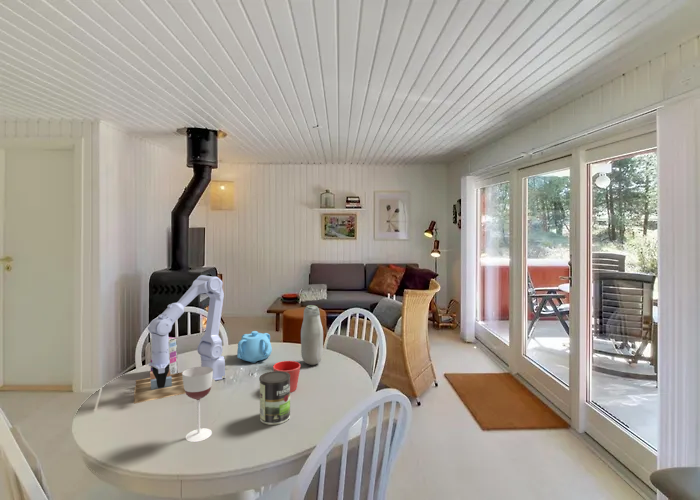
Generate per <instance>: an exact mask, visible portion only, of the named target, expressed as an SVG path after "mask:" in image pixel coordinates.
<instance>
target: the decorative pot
mask: <svg viewBox="0 0 700 500" xmlns="http://www.w3.org/2000/svg"><path fill="white" fill-rule="evenodd" d="M272 352H273V348H272V343H271V335H270V333H268V332H264V333H262V332H259V331H257V330H252V331H251V333H244V334H242V335H241V339H240V340H239V341H238V343H237V351H236V353H237V359H240V360H243V361H244V362H250V363H252V364H256V363H257V362H258V361H264V360H267V359H268V358H269V357H270V356H271V354H272Z"/></svg>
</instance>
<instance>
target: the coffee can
mask: <svg viewBox="0 0 700 500" xmlns="http://www.w3.org/2000/svg"><path fill="white" fill-rule="evenodd" d="M258 379H259V421H260V422H261V423H262V424H264V425H269V426H273V425H274V426H276V425H277V426H278V425H282V424H284V423H286V422H288V421H289V420H290V419H291V393H290V374H289V373H287V372H283V371H274V370H272V371H268V372H265V373H263V374H261V375H260V376H259V378H258ZM288 419H289V420H288Z"/></svg>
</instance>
